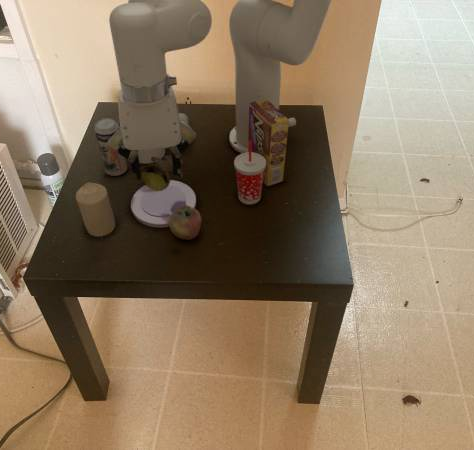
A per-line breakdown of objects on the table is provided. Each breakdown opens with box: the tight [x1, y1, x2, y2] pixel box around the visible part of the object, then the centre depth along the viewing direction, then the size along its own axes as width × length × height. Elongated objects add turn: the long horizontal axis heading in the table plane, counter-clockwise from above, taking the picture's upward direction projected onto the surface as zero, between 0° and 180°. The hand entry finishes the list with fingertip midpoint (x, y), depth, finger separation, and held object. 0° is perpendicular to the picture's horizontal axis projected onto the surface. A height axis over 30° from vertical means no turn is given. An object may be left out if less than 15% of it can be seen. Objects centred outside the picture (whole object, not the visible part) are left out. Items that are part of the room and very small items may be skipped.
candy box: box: [248, 99, 290, 187], centre depth 99 cm, size 9×4×15 cm, turn 27°
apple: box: [168, 206, 202, 241], centre depth 89 cm, size 6×8×6 cm
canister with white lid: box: [94, 117, 128, 176], centre depth 101 cm, size 5×5×12 cm
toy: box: [140, 154, 185, 192], centre depth 93 cm, size 7×5×10 cm
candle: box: [75, 181, 116, 238], centre depth 90 cm, size 6×6×10 cm
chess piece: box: [178, 112, 193, 140], centre depth 113 cm, size 5×5×9 cm
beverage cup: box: [233, 140, 266, 205], centre depth 94 cm, size 6×6×14 cm
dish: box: [130, 179, 197, 229], centre depth 97 cm, size 13×13×1 cm
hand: (157, 172), depth 91 cm, fingers closed on toy, 6 cm apart
